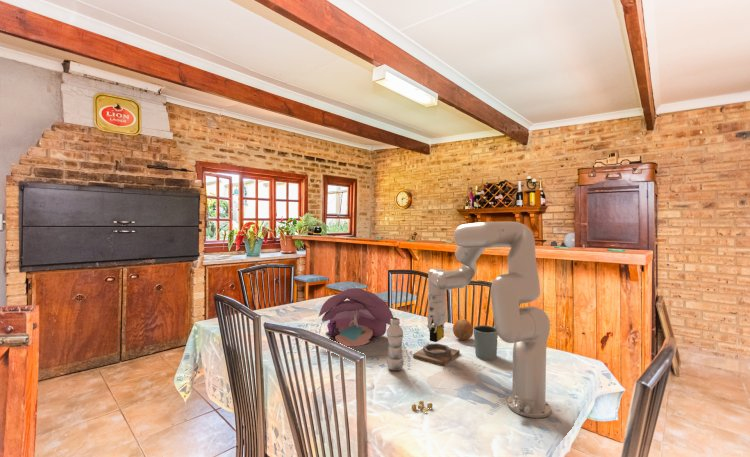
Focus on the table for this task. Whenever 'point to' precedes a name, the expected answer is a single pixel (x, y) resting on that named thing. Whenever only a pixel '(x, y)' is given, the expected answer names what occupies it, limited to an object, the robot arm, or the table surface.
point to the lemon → (439, 332)
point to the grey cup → (485, 342)
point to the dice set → (421, 403)
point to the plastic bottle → (395, 345)
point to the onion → (463, 329)
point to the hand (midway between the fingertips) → (436, 338)
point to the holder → (436, 354)
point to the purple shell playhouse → (355, 316)
